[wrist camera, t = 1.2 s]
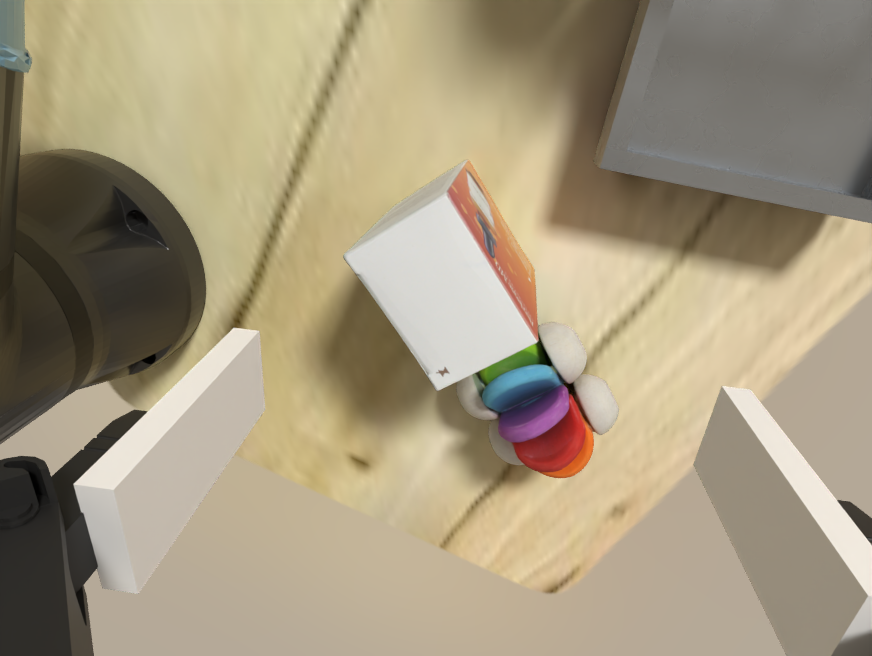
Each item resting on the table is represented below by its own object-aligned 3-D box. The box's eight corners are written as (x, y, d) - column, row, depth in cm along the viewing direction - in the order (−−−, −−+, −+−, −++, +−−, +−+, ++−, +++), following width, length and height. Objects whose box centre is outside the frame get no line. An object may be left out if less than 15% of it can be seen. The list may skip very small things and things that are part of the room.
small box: (535, 270, 33) (543, 346, 24) (458, 311, 35) (437, 397, 26) (468, 154, 31) (448, 188, 22) (390, 205, 33) (339, 256, 24)
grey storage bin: (589, 157, 30) (622, 194, 21) (682, -164, 24) (789, -318, 15) (843, 208, 30) (996, 270, 20) (1004, -108, 24) (1332, -232, 14)
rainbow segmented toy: (515, 455, 40) (515, 530, 33) (444, 352, 37) (428, 411, 30) (625, 409, 37) (649, 480, 30) (556, 293, 34) (566, 345, 27)
